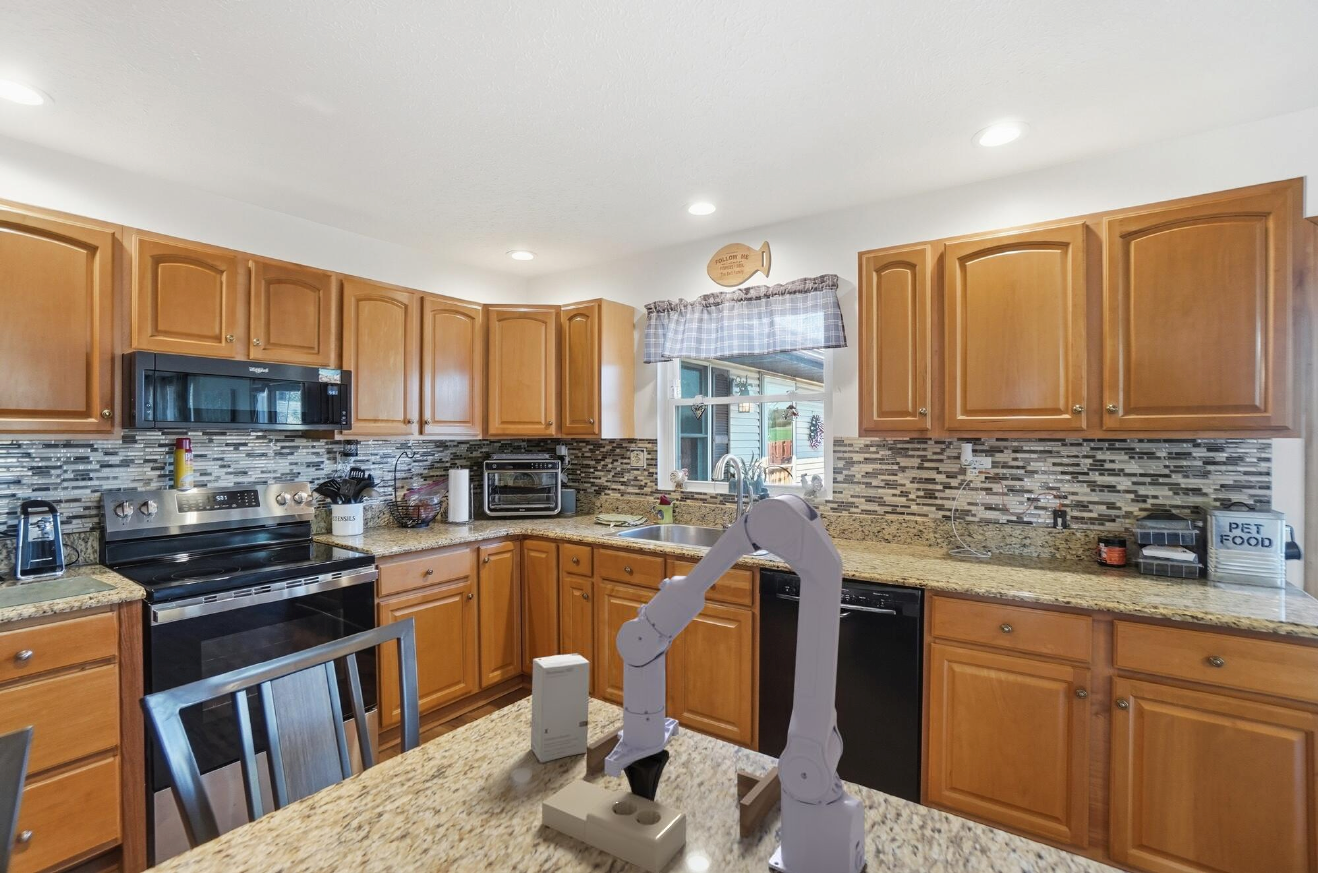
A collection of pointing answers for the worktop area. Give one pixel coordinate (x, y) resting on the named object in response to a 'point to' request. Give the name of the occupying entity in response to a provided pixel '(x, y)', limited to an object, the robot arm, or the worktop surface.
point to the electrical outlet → (617, 823)
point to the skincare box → (559, 706)
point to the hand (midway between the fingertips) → (643, 807)
